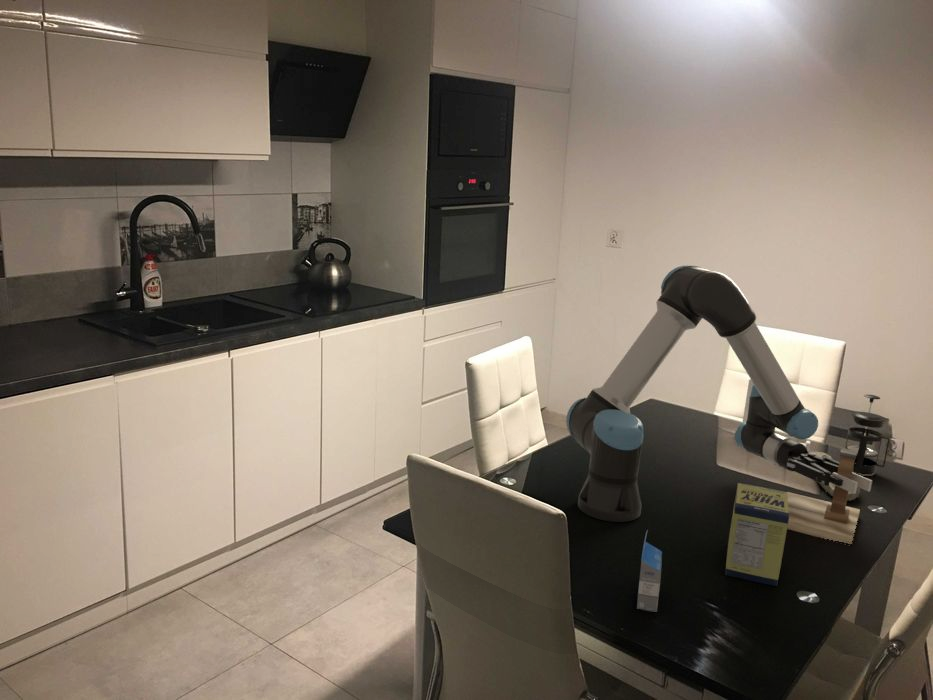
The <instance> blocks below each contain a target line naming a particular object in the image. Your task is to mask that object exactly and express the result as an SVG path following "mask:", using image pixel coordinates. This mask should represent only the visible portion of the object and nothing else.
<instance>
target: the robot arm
mask: <svg viewBox="0 0 933 700" xmlns="http://www.w3.org/2000/svg"><path fill="white" fill-rule="evenodd" d="M660 288H661V291H660V294H661V295H660V296H659V298H658V299H657V300H656V312H655V313H654V315H653V316H652V317H651V319H650V320H649V322H648V323H647V325H646V326H645V327H644V328H643V330H642V331H641V332H640V334H639V335H638V336H637V338H636V339H635V341H634V343H633V344H632V345H631V346H630V347H629V349H628V350H627V352H626V353H625V355H624V356H623V358H621V360H620V361H619V363H618V364H617V365H616V367H615V369H614V370H613V371H612V372H611V374H610V375H609V377H608V378H607V379H606V381H605V382H604V384H603V385H602V386H601V387H595V388H592V390H591V391H590V392H589V394H588V395H587V396H586V397H583V398H580V399H579V398H578V399H577V400H575V401H574V402H573V403H572V404H571V405H570V407H569V409H568V410H567V414H566V419H565V421H566V422H565V424H566V429H567V431H568V433H569V435H570V436H571V438H572V439H573V440H574V442H575V443H577V444H578V445H579V446H581V447H582V449H584V450H585V451H586V452H587V453H588V454H589V455H590V456H589V466H588V475H587V478H586V479H585V482H584V483H583V485H582V488H581V490H580V492H579V494H578V497H577V498H578V500H577V508H578V509H579V510H580V511H581V512H582V513H584V514H585V515H587V516H588V517H591V518H595V519H597V520H601V521H605V522H613V523H625V522H632V521H634V520H637V519H638V518H639V517H640V516H641V513H642V512H641V511H642V502H641V495H640V490H639V486H638V478H639V477H638V476H639V470H640V463H641V456H642V455H641V453H642V448H643V447H642V446H643V443H644V442H643V441H644V424H643V422H642V421H641V419H639V418H638V417H637V416H636V415H634V414H632V413H631V409H630V408H631V406H632V404H633V403H634V401H636V400H637V398H638V396H639V395H640V393H642V390H643V389H644V388H645V387H646V385H647V384H648V382H650V380H651V378H652V377H653V376H654V375H655V373H656V372H657V370H658V369H659V368H660V366H661V365H662V364H663V362H664V360H666V357H668V355H669V354H670V352H671V351H672V350H673V348H674V347H675V346H676V344H677V343H678V341H679V340H680V339H681V338H682V336H683V335H684V333H685V332H686V331H687V330H692V329H696V327H697V326H698V325H699V323H700V322H701V321H702V319H703V320H705V321H706V322H707V323H709V325H711V326H712V327H713V328H714V329H715V331H716V333H717V334H718V335H719V337H721V338H723V339H724V338H725V339H726V340H727V342H728V344H729V346H730V347H731V349H732V350H733V352H734V354H735V356H736V357H737V359H738V361H739V362H740V364H741V365H742V367H743V369H744V370H745V372H746V375H748V377H749V378H750V379H751V380H752V382H753V384H754V385H753V386H752V391H751V395H750V397H749V398H750V400H749V408H748V416H747V421H746V422H743V421H742V422H743V423H740V424H739V425H737V429H736V430H735V432H734V440H735V444H736V445H737V446H738V447H740V448H742V449H744V450H745V451H747V453H750V454H753V455H755V456H757V457H761V458H762V459H764V460H767V461H768V462H772V464H773V465H774V466H780V467H781V468H783V469H785V470H788V471H790V472H794V473H797V474H799V475H801V476H804V477H806V478H809V479H811V480H813V481H815V482H817V483H818V482H820V483H821V482H822V481H824V482H825V483H824V485H826V486H829V482H831V484H833V485H836V486H838V487H840V488H842V489H844V490H847V491H849V492H851V493H853V494H855V493H856V490H857V487H859V488H860V490H861V489H862V490H864V491H866V492H871V489H872V484H873V480H872V479H870V478H869V477H863V476H861V475H858V474H856V473H854V472H853V471H852V476H851V479H849V478H846V477H844V476H842V475H840V474H837V472H838V467H839V461H838V460H836V459H834V458H832V459H831V458H829V457H828V456H826V455H822V458H821V457H818V456H816V455H815V454H812V453H810V452H809V453H808V451H807V449H806V447H805V446H804V445H803V444H801V443H802V442H799V441H797V440H800V441H801V440H807V439H810V438H811V437H812V436H813V435H815V434H816V433H817V430H818V427H819V419H818V417H817V415H816V414H815V413H814V412H812V411H811V410H810V409H806V408H805V407H804V405H803V403H802V401H801V400H800V398H799V396H798V395H797V393H796V391H795V389H794V388H793V386H792V384H791V382H790V381H789V380H788V377H787V376H786V373H785V372H784V371H783V369H782V367H781V365H780V364H779V362H778V360H777V358H776V357H775V355H774V353H773V352H772V349H771V348H770V346H769V344H768V343H767V340H765V338H764V335H763V334H762V332H761V331H760V329H759V327H758V326H757V324H756V321H757V315H756V313H755V311H754V309H753V308H752V306H751V304H750V303H749V301H748V300H747V298H746V296H745V295H744V293H743V291H741V289H740V288H739V286H738V285H737V283H735V282H734V281H733V280H732V279H731V278H730V277H729V276H727V275H726V274H724V273H722V272H718V271H713V270H710V269H705V268H702V267H701V266H698V265H680V266H677V267H674V268H673V269H672V270H670V271H669V272H668V273H667V274H666V276H665V277H664V278H663V280H662V282H661V287H660ZM750 379H749V380H750ZM776 429H778V430H780V431H781V432H783V433H785V434H787V435H788V436H789V437H788V438H787V436H785V435H783V434H780V433H777V432H775V431H776ZM790 437H793V438H796V439H797V440H793V439H791V438H790ZM853 470H854V468H853Z"/></svg>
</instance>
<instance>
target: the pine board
mask: <svg viewBox="0 0 933 700" xmlns="http://www.w3.org/2000/svg"><path fill="white" fill-rule="evenodd" d="M787 497H788V510H789V521H788V526H787V530H790V531H794V532H798V533H801V534H805V535H808V536H809V535H810V536H812V537H816V538H819V537H820V538H821V539H823V538H824V540H827V539H829V540H828V541H831V540H833V541H832V542H835V541H839V542H844V543H848V544H852V545H853V542H852V541H854V538H853V537H854V536H855V534H856V530H855V529H856V528H857V526H856V525H858V522H857V521H859V517H860V511H861V509H860V508H856V507H851V506H847V505H846V508H845V509H849V510H850V512H849V518H848V521H847V524H843V523H840V522H836V521H832V520H828V519H824V516H825V511H826V508H827V505H828V504H829V505H832V501H826V500H822V499H818V498H814V497H810V496H806V495H801V494H799V493H798V494H797V493H793V492H790V491H787ZM854 533H855V534H854Z"/></svg>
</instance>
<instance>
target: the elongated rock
mask: <svg viewBox="0 0 933 700" xmlns="http://www.w3.org/2000/svg"><path fill="white" fill-rule="evenodd" d="M809 453H812V454H815V455H816V456H818V457H821V458H822V455H826V456H828V457H829V458H831V459H833V458H832V456H831V454H828V453H826V452H820V451H811V452H810V451H809ZM817 483H818V484H819V485H820V486H821V487H822V488H823V490H824V491H825V493H827V492H828V493H827V494H829V496H832V497H833V494H834V488H835V485H833V484H831V482H829V486H826V485H824V483H825V482H824V481H822V482H821V483H820V482H817ZM860 492H861V488H859V487H857V490H856V493H855V494H853V493H851V492H848V497H847V502H849V501H850V502H853V501H852V500H854V499H855V500H856V498H857V499H858V498H859V497H860ZM855 500H854V501H855Z"/></svg>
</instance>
